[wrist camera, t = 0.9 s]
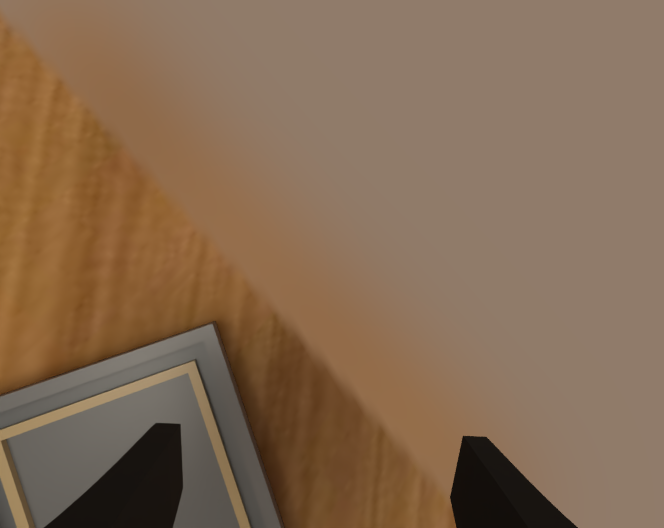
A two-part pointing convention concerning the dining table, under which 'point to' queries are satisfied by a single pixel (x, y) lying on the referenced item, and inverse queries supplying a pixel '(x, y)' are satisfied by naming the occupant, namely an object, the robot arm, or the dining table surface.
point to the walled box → (135, 434)
